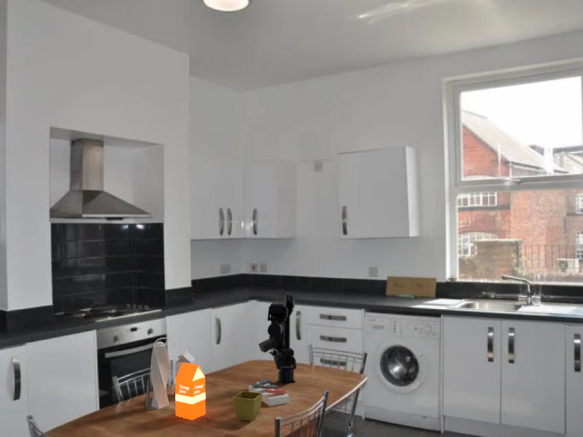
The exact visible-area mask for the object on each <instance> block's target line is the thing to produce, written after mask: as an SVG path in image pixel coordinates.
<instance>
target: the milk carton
mask: <svg viewBox="0 0 583 437" xmlns="http://www.w3.org/2000/svg"><path fill="white" fill-rule="evenodd" d="M177 357H178V359H177V361H175V363H174V364H175V366H174V367H175V368H174V369H175V370H174V371H175V373H174V374H175V375H174V376H175V379H174V380H175V381H174V382H175V383H174V384H175V389H176V377H177V375H178V372H179V370H180V367H181V365H182V363H189V364H195V365H197V364H196V358H195V357H194V356H193V355H192V354H190V352H189V350H188V349H186V350H185V351H184V352H183V353H181V354H179V356H177Z"/></svg>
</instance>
